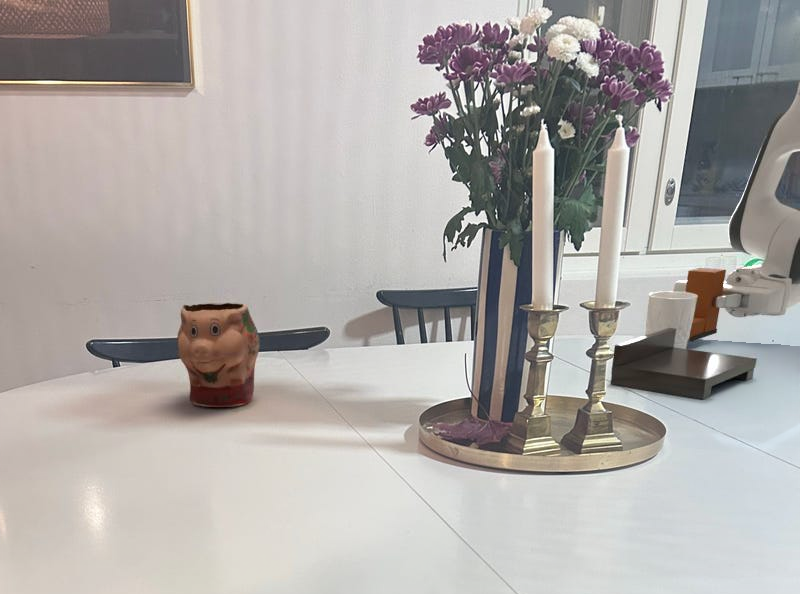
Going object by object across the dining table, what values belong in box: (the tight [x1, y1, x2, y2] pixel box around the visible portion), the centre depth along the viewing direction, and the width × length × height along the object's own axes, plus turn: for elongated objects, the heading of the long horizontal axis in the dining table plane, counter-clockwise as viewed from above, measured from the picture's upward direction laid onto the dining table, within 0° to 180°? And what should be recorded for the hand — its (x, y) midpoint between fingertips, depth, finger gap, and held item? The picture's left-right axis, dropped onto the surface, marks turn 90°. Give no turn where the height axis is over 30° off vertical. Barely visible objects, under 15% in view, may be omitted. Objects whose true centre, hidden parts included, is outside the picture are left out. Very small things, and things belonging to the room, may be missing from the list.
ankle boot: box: [685, 267, 727, 343], centre depth 168 cm, size 5×10×11 cm, turn 135°
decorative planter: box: [176, 302, 260, 408], centre depth 141 cm, size 20×12×14 cm, turn 179°
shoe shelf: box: [610, 328, 757, 400], centre depth 146 cm, size 15×18×6 cm
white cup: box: [644, 291, 698, 349], centre depth 162 cm, size 8×8×10 cm
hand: (699, 300), depth 169 cm, fingers closed on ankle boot, 5 cm apart
